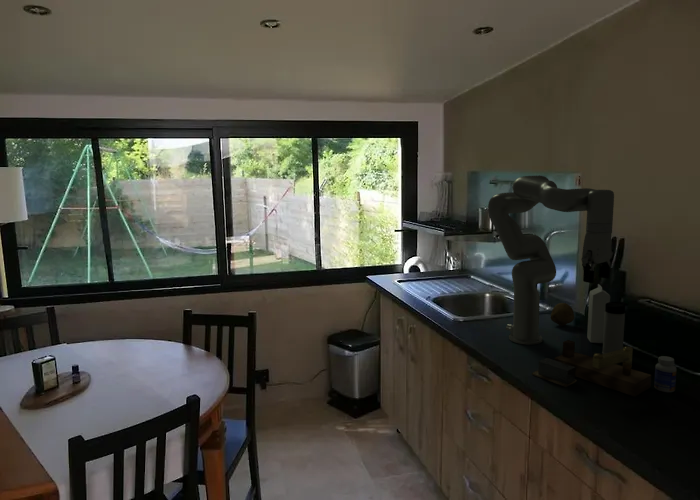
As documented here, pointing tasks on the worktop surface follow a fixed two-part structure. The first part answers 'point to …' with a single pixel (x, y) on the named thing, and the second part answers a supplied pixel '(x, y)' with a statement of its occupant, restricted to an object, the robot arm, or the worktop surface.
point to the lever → (615, 359)
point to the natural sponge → (562, 314)
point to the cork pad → (552, 379)
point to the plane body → (604, 372)
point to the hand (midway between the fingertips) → (596, 279)
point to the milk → (597, 314)
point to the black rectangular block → (556, 370)
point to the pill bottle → (665, 374)
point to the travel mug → (613, 326)
